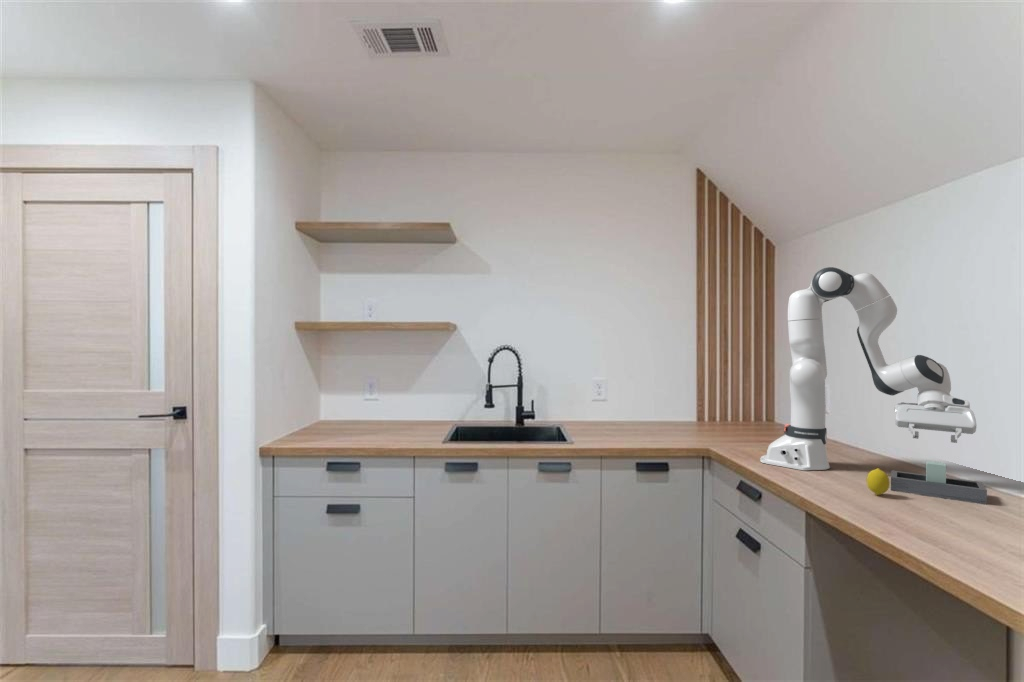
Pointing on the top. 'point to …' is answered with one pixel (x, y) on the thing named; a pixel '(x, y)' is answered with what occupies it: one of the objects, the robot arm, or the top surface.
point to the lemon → (878, 481)
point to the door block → (936, 472)
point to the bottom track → (939, 487)
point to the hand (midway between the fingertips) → (934, 439)
